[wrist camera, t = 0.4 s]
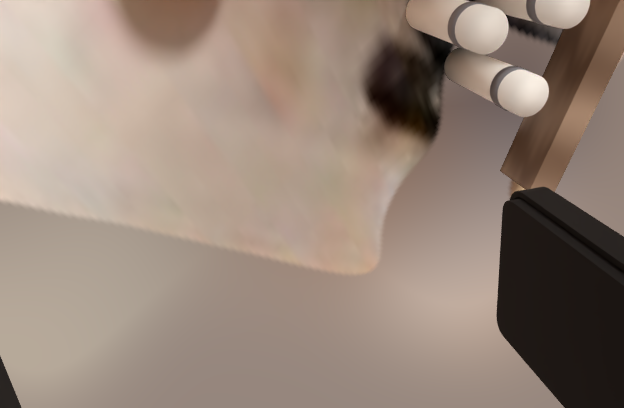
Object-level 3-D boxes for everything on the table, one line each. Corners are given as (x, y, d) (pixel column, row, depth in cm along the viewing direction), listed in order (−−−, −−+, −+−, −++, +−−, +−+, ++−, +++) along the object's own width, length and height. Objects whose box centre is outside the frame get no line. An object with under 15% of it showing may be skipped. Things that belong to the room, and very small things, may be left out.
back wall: (612, -81, 38) (658, -82, 34) (635, -70, 39) (683, -70, 35) (500, 170, 44) (529, 191, 41) (521, 176, 45) (552, 197, 41)
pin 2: (452, 41, 39) (520, 68, 31) (483, 51, 40) (556, 80, 32) (438, 77, 40) (501, 112, 32) (468, 87, 41) (537, 122, 33)
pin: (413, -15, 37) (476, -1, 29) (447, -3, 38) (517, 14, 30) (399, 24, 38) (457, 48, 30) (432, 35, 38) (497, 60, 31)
